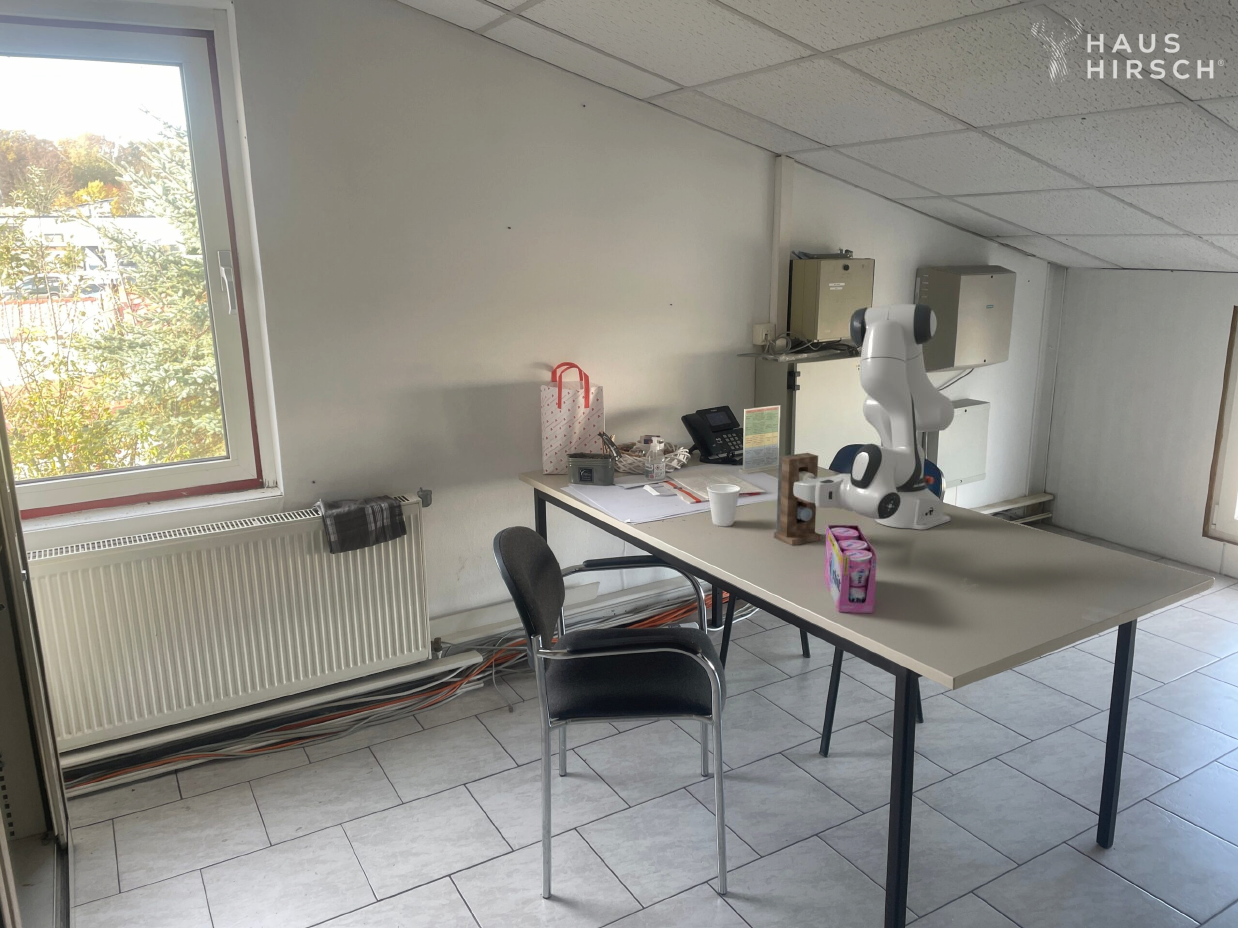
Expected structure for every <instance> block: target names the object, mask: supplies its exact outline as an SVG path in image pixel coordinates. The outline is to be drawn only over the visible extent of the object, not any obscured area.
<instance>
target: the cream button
mask: <svg viewBox="0 0 1238 928" xmlns="http://www.w3.org/2000/svg"><path fill="white" fill-rule="evenodd" d="M809 477H815V476H814V475H813V474H812V473H809V472H806V471H801V472H798V481H805V480H806V478H809Z"/></svg>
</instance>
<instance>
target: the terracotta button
mask: <svg viewBox="0 0 1238 928" xmlns="http://www.w3.org/2000/svg"><path fill="white" fill-rule="evenodd" d="M797 501H800V502H803V503H806V504H808V503H810V502H807V501H804V500H802V499H799V498H797Z"/></svg>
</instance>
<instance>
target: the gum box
mask: <svg viewBox="0 0 1238 928" xmlns="http://www.w3.org/2000/svg"><path fill="white" fill-rule="evenodd" d="M824 554H825V555H824V556H825V557H824V580H825V582H826V584H827V586H828V590H829V592H830V594H831V597H832V599H833V602H834V604H835V607H836V608H837V610H838V612H839V613H850V614H851V613H858V614H859V613H860V614H874V612H875V610H874V609H875V596H876V595H875V593H876V577H877V576H876V575H877V557H878V555H877V553H876V550H875V548H874V547H873V546H872V545H871V544H870V542H869V540H868V539H867V538H866V536H865V535H864V533H863V531H862V529H861V528H860V526H859V525H858V524H857V525H856V524H853V525H851V524H849V525H848V524H827V525H826V532H825V553H824Z"/></svg>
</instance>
